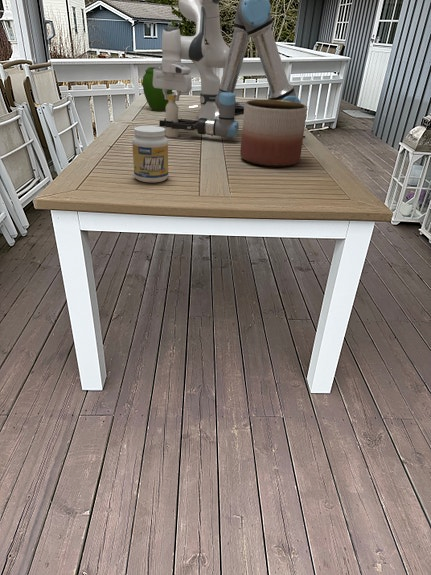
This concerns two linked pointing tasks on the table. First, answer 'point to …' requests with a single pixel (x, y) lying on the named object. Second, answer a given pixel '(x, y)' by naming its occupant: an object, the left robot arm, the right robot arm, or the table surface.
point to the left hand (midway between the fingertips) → (171, 100)
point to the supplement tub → (150, 154)
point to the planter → (272, 132)
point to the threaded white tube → (171, 118)
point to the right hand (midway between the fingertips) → (162, 122)
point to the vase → (154, 92)
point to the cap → (171, 97)
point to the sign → (239, 107)
